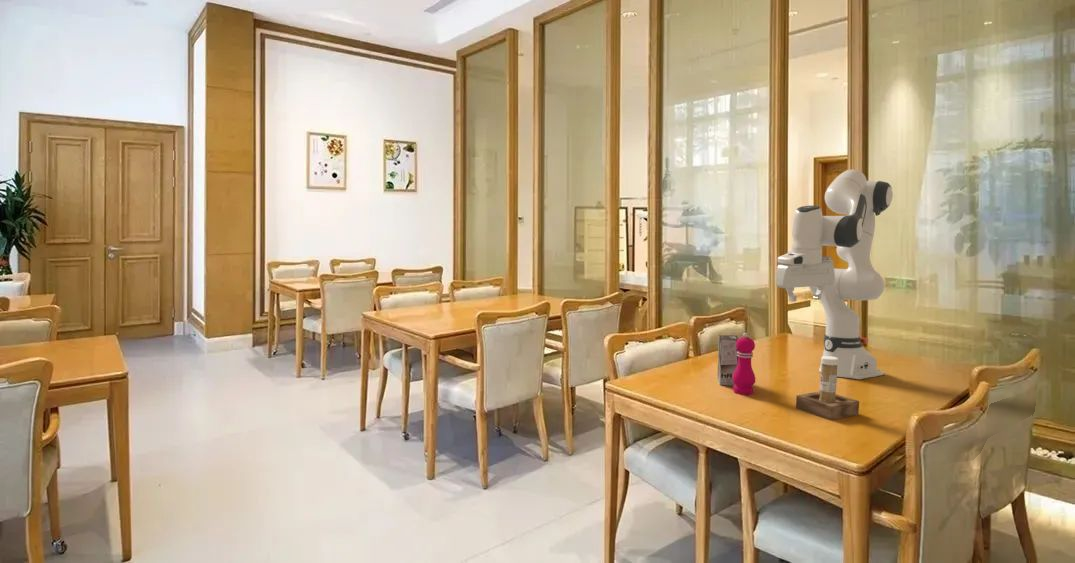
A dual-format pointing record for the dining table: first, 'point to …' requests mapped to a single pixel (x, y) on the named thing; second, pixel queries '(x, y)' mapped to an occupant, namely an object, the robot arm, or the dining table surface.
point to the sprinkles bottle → (828, 379)
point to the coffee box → (727, 359)
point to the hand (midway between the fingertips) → (804, 300)
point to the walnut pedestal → (827, 406)
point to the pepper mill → (744, 366)
